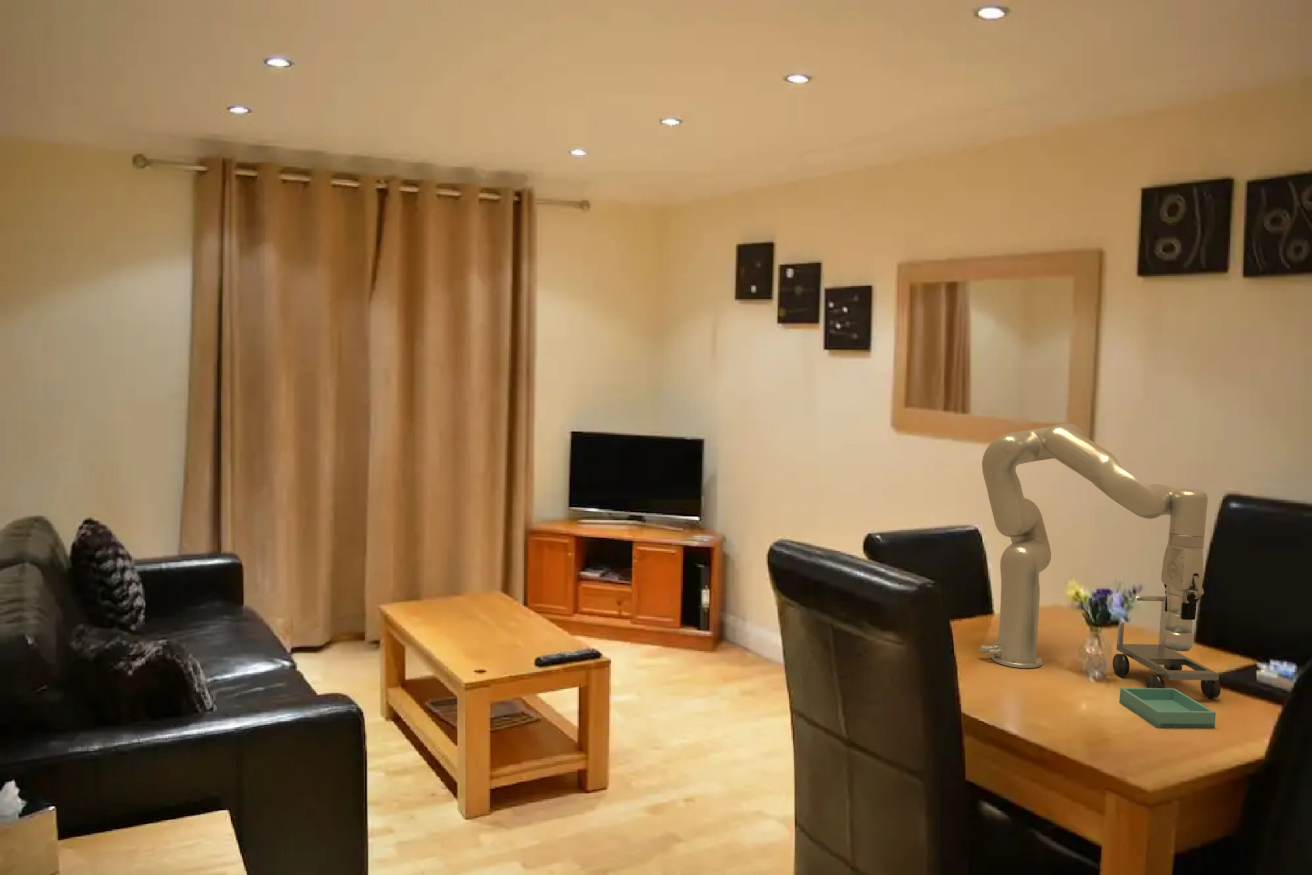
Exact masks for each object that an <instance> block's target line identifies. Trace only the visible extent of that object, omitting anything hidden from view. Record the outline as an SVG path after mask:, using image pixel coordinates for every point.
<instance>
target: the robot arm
mask: <svg viewBox="0 0 1312 875" xmlns="http://www.w3.org/2000/svg"><path fill="white" fill-rule="evenodd" d="M1052 459H1053V460H1054V459H1055V460H1057V461H1058V462H1060V463H1061V464H1063V465H1064V466H1066V467H1067V468H1069V469H1071V470H1073V471H1074V472H1076V473H1077V474H1078V475H1080V476H1081V477H1082V478H1084V479H1086V480H1088V481H1089V482H1090V483H1092V484H1093V486H1095V487H1096V488H1097V489H1099V490H1100V491H1102V492H1101V493H1104V494H1105V495H1106V496H1107V497H1108V498H1110V500H1113V501H1114V502H1115V503H1116V504H1118V505H1120V506H1121V507H1123V508H1124V509H1127V510H1128V511H1129V512H1131V513H1133V514H1134V515H1136V516H1138V517H1140V518H1143V519H1147V520H1150V519H1151V520H1153V519H1156V518H1159V517H1160V516H1170V517H1169V518H1170V519H1169V527H1168V528H1169V530H1168V539H1167V545H1166V547H1165V551H1164V556H1163V560H1162V567H1161V578H1160V579H1161V580H1160V581H1161V582H1162V583H1163V586H1164V588H1165V590H1164V594H1165V597H1166V601H1165V611H1166V612H1167V611H1168V610H1167V592H1166V587H1167V585H1168V584H1171V585H1172V586H1173V587H1174V588H1175V589H1177V590H1179V591H1183V596H1184V602H1185V603H1183V602H1182V611H1181V619H1183V620H1192V621H1195V620H1196V615H1197V605H1198V604H1199V601H1200V599H1201V598H1202V596H1203V595H1204V594H1205V591H1204V588H1203V582H1204V554H1203V553H1204V545H1205V532H1206V522H1207V513H1208V498H1209V497H1208V495H1207V493H1206V492H1205V491H1203V490H1200V489H1193V488H1177V487H1173V486H1168V485H1163V484H1150V485H1149V484H1147V483H1145V482H1144V481H1143V480H1140V478H1137V477H1135V476H1134V475H1133V474H1131V473H1130V472H1129V471H1127V470H1126V469H1125V468H1124V467H1123V466H1122V465H1121V464H1120V462H1119V461H1118V459H1117V457H1116V456H1115V455H1114V454H1113V453H1112V452H1110V451H1109V450H1108V449H1105V448H1104V447H1102V446H1100V445H1099V444H1097V443H1096V442H1094V441H1092V440H1091V439H1089V438H1088V437H1086V436H1085V433H1084V431H1083V430H1082V429H1081V428H1080V427H1079V426H1077V425H1076V424H1073V423H1060V424H1055V425H1053V426H1046V427H1041V428H1034V429H1027V430H1022V431H1021V430H1020V431H1012V432H1007V433H1004V434H1002V435H999V437H997V438H995V439H994V440H993V441H992V442H991V443H990V444H989V445H988V446H987V448H986V449H985V451H984V453H983V456H982V461H981V468H982V476H983V479H984V483H985V486H986V490H987V496H988V500H989V505H990V508H991V509H990V510H991V512H992V517H993V521H994V525H995V527H996V529H997V531H998V532H999V533H1000V534H1001V535H1002V536H1004V537H1008V538H1010V541H1011V544H1009V545H1008V546H1006V548H1005V549H1004V550H1003V553H1002V554H1001V557H1000V560H999V561H1000V562H999V568H1000V569H999V572H1000V605H999V606H1000V608H999V621H998V622H999V624H998V640H995V641H994V643H993V644H991V645H986V644H980V645H979V653H981V654H982V653H984V654H985V653H986V654H988V655H991V656H990V659H991V660H992V661H993V662H995V663H996V664H1000V665H1003V666H1005V667H1011V668H1019V669H1034V668H1039V667H1041V666H1042V665H1043V659H1042V658H1041V656H1038V655H1037V651H1038V650H1037V649H1038V632H1039V630H1038V629H1039V619H1040V618H1039V617H1040V601H1041V600H1040V599H1041V598H1040V597H1041V596H1040V593H1041V591H1040V590H1041V589H1040V587H1041V586H1040V573H1041V572H1043V571H1045V569H1047V568H1048V566H1049V565H1050V562H1051V560H1052V550H1051V546H1050V543H1049V538H1048V535H1047V531H1046V530H1047V529H1046V526H1045V524H1044V523H1045V522H1044V519H1043V515H1042V512H1041V511H1040V510H1041V509H1040V508H1039V507H1038V505H1037V504H1036V503H1035V502H1033V500H1031V499H1028V498H1025V496H1024V493H1023V488H1022V484H1021V481H1020V479H1019V477H1018V474H1017V472H1016V470H1017V469H1016V468H1017V466H1019V465H1022V464H1028V463H1032V462H1037V461H1038V462H1040V461H1046V460H1052ZM1189 588H1193V590H1188V589H1189ZM1188 593H1193V594H1191V595H1190V596H1188Z"/></svg>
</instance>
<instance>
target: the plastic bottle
mask: <svg viewBox="0 0 1312 875" xmlns="http://www.w3.org/2000/svg"><path fill="white" fill-rule="evenodd" d="M1165 590H1166V592H1167V610H1168V611H1167V619H1166V624H1165V629H1164V632H1163V636H1162V640H1163V644H1164V646H1165V647H1166V648H1168V649H1172V650H1174V651H1176V652H1189V651H1190V650H1191V649H1192V648H1193V645H1194V634H1193V620H1183V619H1181V611H1182V602H1183V603H1185V602H1184V596H1183V591H1179V590H1177V589H1175V588H1174V587H1173V586H1172V585H1171V584H1168V585H1167V587H1166V589H1165ZM1188 590H1193V588H1189V589H1188ZM1191 594H1193V593H1188V596H1190V595H1191Z"/></svg>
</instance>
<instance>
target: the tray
mask: <svg viewBox="0 0 1312 875" xmlns="http://www.w3.org/2000/svg"><path fill="white" fill-rule="evenodd" d="M1118 703H1119V704H1121V705H1123V706H1124V707H1125V708H1127V709H1128V710H1130V711H1131V712H1133V713H1134V714H1135V715H1137V716H1139V717H1140V718H1141V719H1143V720H1145V721H1146V722H1147V723H1149V724H1150V725H1152V726H1153V727H1155V728H1156V729H1215V728H1216V726H1215V725H1216V717H1217V716H1216V715H1217V712H1215V711H1214V710H1213V709H1210V707H1207V706H1205V705H1204V704H1202V703H1200V702H1198V701H1197V700H1196V699H1194V698H1193V697H1192V698H1191V697H1190V696H1188V695H1186V694H1185V693H1183V692H1181V691H1180V690H1178V689H1176V688H1174V687H1172V688H1171V687H1167V688H1166V687H1165V688H1147V687H1119V702H1118Z"/></svg>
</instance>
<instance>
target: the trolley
mask: <svg viewBox="0 0 1312 875" xmlns="http://www.w3.org/2000/svg"><path fill="white" fill-rule="evenodd" d="M1135 596H1136V598H1137V601H1136V602H1161V608H1160V609H1161V610H1160V619H1159V634H1158V635H1159V636H1158V643H1156V644H1155V643H1154V644H1153V643H1152V644H1151V643H1148V644H1147V643H1124V635H1125V634H1124V632H1125V622H1124V623H1122V624H1120V625H1117V639H1116V650H1117V651H1118V652H1120V653H1115V654H1114V656H1113V658H1112V668H1113V672H1114V673H1115V675H1116V676H1117V677H1126V676H1128V675H1129V673H1130V669H1131V668H1130V667H1131V666H1130V660H1129V658H1130V659H1132V660H1134V661H1135V662H1138V664H1140V665H1142V666H1144V667H1146V668H1148V669H1149V670H1151V671H1153V672H1154V673H1149V674H1148V676H1147V677H1146V681H1145V682H1146V683H1145V685H1146V686H1145V688H1166V684H1165V680H1164V678H1165V679H1166V680H1168V681H1200V689H1201V692H1202V694H1203V696H1204V697H1205V698H1207V699H1217V698H1219V696H1220V695H1221V690H1222V688H1221V687H1222V686H1221V682H1220V680H1219V679H1220V674H1219V672H1216V671H1214V670H1212V669H1210V668H1209V667H1206V666H1205V665H1202V664H1201V663H1198V662H1197V661H1195V660H1193V659H1192V658H1189V657H1188V656H1186V655H1183V654H1182V653H1180V652H1179V651H1175V650H1172V649H1168V648H1166V647H1165V646H1164V644H1163V640H1162V636H1163V632H1164V629H1165V624H1166V619H1167V612H1166V611H1165V601H1166V595H1165V596H1162V595H1161V596H1160V595H1159V596H1155V595H1154V596H1153V595H1149V596H1148V595H1135ZM1183 666H1186V667H1188V668H1190V669H1191V670H1187V669H1186V670H1183Z"/></svg>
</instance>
